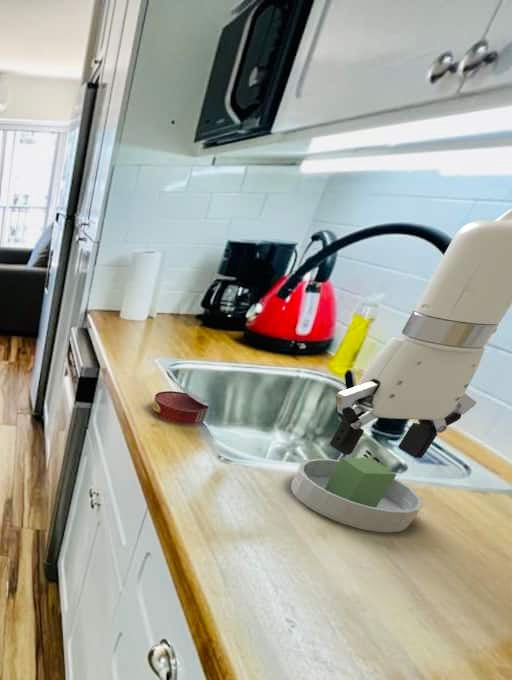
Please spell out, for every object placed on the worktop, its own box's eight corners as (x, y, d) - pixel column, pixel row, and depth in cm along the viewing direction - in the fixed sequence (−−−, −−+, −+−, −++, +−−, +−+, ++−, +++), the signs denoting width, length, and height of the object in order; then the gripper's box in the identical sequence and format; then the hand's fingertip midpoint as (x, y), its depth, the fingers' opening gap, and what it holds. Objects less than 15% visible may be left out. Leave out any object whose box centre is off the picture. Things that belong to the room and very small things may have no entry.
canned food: (154, 422, 105) (170, 378, 104) (205, 434, 98) (222, 387, 97) (139, 413, 96) (155, 365, 95) (193, 425, 90) (211, 373, 89)
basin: (358, 478, 78) (368, 460, 76) (437, 534, 66) (452, 514, 64) (271, 475, 78) (279, 457, 76) (333, 530, 66) (345, 510, 64)
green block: (352, 491, 74) (371, 458, 71) (375, 509, 70) (396, 474, 67) (323, 490, 74) (341, 457, 71) (344, 508, 70) (364, 473, 67)
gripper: (485, 326, 62) (412, 441, 71) (351, 320, 62) (294, 436, 71) (550, 344, 56) (461, 468, 64) (400, 337, 56) (331, 462, 64)
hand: (374, 451), depth 68 cm, fingers open, 9 cm apart
